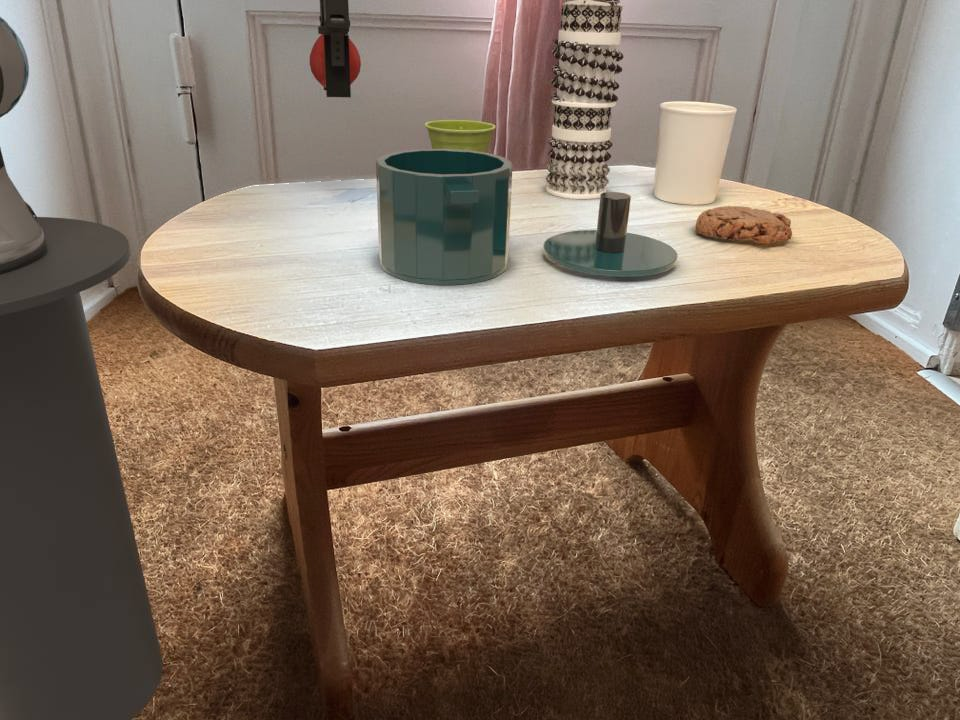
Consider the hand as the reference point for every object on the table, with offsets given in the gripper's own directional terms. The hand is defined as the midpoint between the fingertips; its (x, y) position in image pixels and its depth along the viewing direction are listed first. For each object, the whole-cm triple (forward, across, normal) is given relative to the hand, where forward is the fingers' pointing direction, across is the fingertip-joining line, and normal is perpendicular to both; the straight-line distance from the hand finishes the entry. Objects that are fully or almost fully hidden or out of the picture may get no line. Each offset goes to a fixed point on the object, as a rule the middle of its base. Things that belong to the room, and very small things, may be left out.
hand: (336, 93), depth 87 cm
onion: (0, 0, 0) cm, 0 cm away
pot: (+13, -24, -8) cm, 29 cm away
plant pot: (+13, +6, -16) cm, 22 cm away
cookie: (+13, -20, -44) cm, 50 cm away
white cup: (+13, -2, -46) cm, 48 cm away
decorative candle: (+13, +3, -32) cm, 35 cm away
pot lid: (+12, -26, -25) cm, 38 cm away
